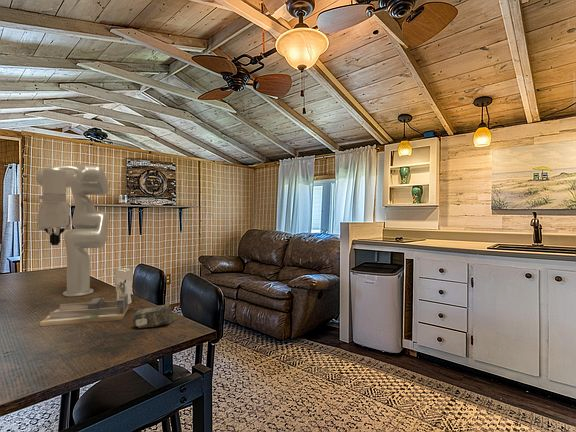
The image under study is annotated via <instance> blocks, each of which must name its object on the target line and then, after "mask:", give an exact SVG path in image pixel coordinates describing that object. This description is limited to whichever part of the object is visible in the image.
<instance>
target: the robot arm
mask: <svg viewBox="0 0 576 432" xmlns="http://www.w3.org/2000/svg"><path fill="white" fill-rule="evenodd" d="M35 176H36V177H35V178H36V183H37V184H38V185H39V186H41V187H42V195H39V196H38V200H42V202H41V201H40V203H39V207H38V215H37V226H38V230H39V231H41V232H46V234H47V235H48V236H49V244H51V246H58V245H59V244H60V243H61V235H62V234H63V233H64V232H65V231H66V232H65V233H64V236H63V237H64V238H63V239H64V240H63V241H64V247H65V253H66V290H65V291H63V292H62V296H63V297H82V296H86V295H90V294H92V293H94V288H92V287H91V286H90V285H91V276H90V275H91V274H90V273H91V260H90V259H91V258H90V254H89V253H88V251H86V250H85V249H99V248H103V247H104V246H105V245H106V242H107V236H108V230H109V229H108V228H109V214H108V213H107V212H105V211H103V210H95V207H96V206H95V203H94V201H93V200H92V199H90V197H88V196H87V195H89V196H105V195H107V194H108V193H109V191H110V184H109V181H108V178H107V175H106V173H105V170H104V169H103V168H102V167H101V166H100V165H97V164H73V165H70V166H69V165H67V166H66V165H65V166H63V165H62V166H54V167H53V166H50V167H43V168H41V169H39V170H38V171H37V172H36V175H35ZM67 188H69V189H70V188H71V195H72V198H73V199H74V203H75V206H74V210H73V215H72V218H71V210H70V205H69V202H67ZM71 219H72V220H71ZM71 225H72V227H73V228H71ZM54 228H55V229H54Z"/></svg>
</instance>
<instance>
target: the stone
mask: <svg viewBox="0 0 576 432" xmlns="http://www.w3.org/2000/svg"><path fill="white" fill-rule="evenodd" d="M174 320H175V318H174V313H173V308H172V307H171V305H169V304H161V305H156V306H151V307H149V308H147V307H146V308H141V309H138V310H137V311H136V312H135V313H133V315H132V316H131V323H132V325H133V326H134V327H137V328H139V329H145V328H154V327H160V326H164V325H167V326H168V325H171V324H172V323H173V322H174Z"/></svg>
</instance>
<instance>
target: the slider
mask: <svg viewBox="0 0 576 432" xmlns="http://www.w3.org/2000/svg"><path fill="white" fill-rule="evenodd" d="M105 301H106V298H105V297H94V298H92V300H90V301H89V303H88V302H87V303H88V309H99V308H105Z"/></svg>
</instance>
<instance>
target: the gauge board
mask: <svg viewBox="0 0 576 432" xmlns="http://www.w3.org/2000/svg"><path fill="white" fill-rule="evenodd" d="M89 302H90V301H89ZM89 302H77V303H74V302H73V303H61V304H59V308H56V309H55V310H53V311H50V312H49V315H47V316H46V317H45V318H43V320H41V321H40V322H39V324H40V325H39V327H48V326H49V327H51V326H61V325H62V326H63V325H75V324H76V325H77V324H87V323H98V322H99V323H100V322H107V321H108V322H110V321H120V320H121V321H122V320H123V318H124V317H125V315H126V313H127V311H128V310H129V308H130V306H129V305H130V304H128V294H122V295H121V297H120V298H119V299H118V301H117V300H105V308H99V309H88V303H89Z"/></svg>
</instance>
